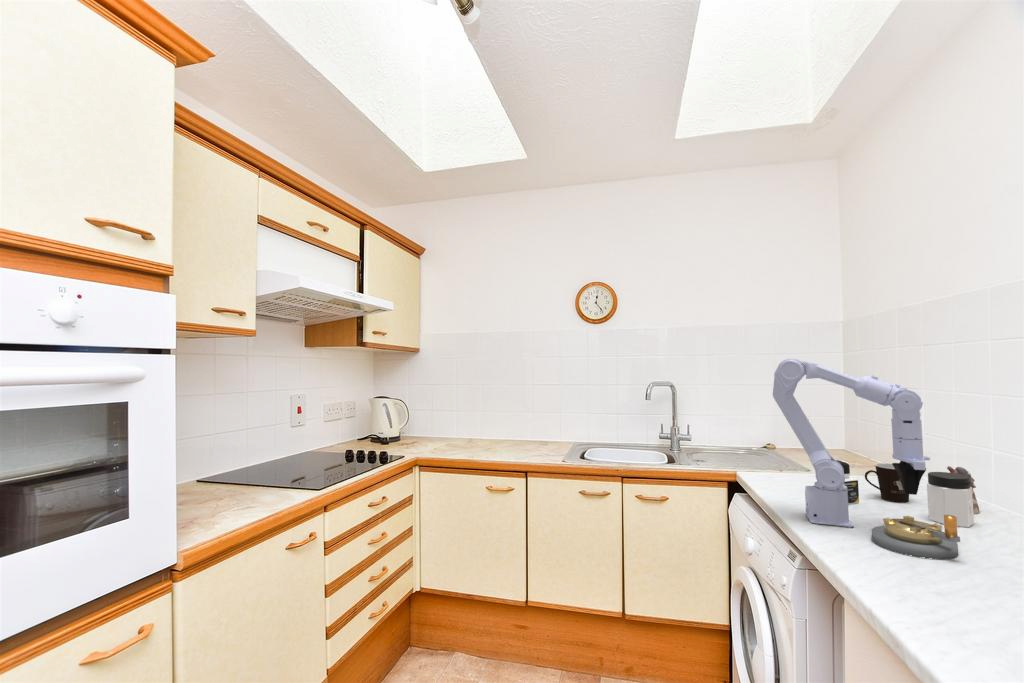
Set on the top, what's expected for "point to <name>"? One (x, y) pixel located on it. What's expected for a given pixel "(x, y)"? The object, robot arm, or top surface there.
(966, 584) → the top surface
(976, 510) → the figurine
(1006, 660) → the top surface
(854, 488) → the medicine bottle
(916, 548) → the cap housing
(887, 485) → the coffee mug
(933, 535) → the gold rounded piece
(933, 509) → the jar
